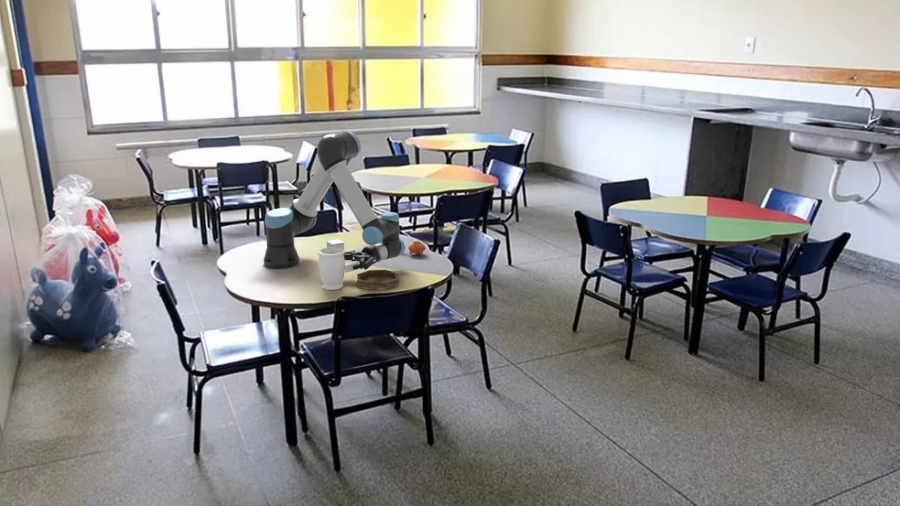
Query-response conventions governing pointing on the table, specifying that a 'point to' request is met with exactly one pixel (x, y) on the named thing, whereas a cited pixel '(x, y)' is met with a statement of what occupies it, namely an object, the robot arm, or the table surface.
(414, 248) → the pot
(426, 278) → the table surface
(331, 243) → the white cube
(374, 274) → the tray
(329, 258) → the jar
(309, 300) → the table surface
